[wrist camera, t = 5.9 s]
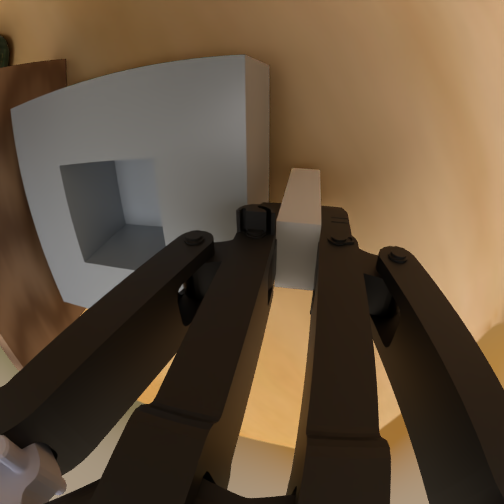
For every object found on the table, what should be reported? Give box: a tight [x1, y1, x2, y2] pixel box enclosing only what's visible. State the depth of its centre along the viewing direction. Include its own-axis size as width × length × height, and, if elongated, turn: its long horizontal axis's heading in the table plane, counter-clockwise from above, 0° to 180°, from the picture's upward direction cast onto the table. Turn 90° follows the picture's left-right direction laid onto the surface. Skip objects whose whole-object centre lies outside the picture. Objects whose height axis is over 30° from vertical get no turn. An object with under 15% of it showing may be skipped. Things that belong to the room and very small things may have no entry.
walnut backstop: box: [0, 59, 86, 371], centre depth 15 cm, size 20×2×12 cm, turn 1°
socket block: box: [10, 55, 270, 308], centre depth 16 cm, size 14×14×6 cm
